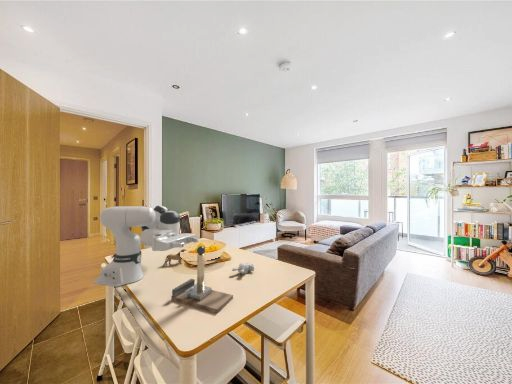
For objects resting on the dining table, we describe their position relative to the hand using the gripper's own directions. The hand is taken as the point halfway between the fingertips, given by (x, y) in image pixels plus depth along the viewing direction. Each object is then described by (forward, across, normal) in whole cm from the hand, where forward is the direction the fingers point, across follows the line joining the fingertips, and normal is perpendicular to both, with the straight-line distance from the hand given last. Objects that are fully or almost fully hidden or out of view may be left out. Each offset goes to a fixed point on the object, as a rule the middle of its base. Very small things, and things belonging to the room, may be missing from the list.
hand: (190, 242), depth 91 cm
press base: (+7, 0, -24) cm, 25 cm away
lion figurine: (-36, -28, -24) cm, 51 cm away
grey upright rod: (+5, 0, -22) cm, 23 cm away
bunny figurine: (+11, -34, -24) cm, 43 cm away
